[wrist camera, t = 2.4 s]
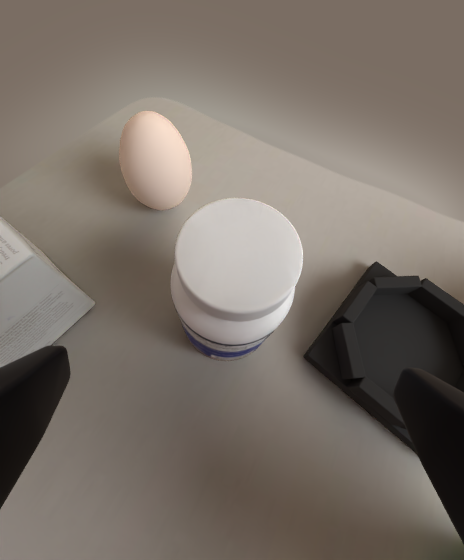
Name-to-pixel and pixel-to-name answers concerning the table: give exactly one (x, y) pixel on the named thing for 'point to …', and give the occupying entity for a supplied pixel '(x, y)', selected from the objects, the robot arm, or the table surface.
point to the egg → (155, 161)
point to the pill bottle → (234, 275)
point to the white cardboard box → (33, 297)
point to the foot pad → (390, 341)
